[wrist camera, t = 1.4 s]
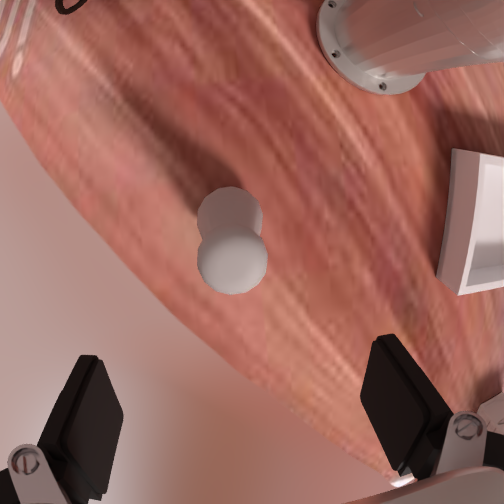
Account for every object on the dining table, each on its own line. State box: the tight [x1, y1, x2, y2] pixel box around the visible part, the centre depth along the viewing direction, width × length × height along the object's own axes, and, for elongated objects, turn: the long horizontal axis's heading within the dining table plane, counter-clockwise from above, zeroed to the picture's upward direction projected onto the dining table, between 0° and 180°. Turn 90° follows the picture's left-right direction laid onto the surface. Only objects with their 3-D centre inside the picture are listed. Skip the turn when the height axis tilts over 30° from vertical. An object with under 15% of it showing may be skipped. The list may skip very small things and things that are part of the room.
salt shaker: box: [197, 186, 268, 295], centre depth 25 cm, size 6×6×13 cm
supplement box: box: [477, 392, 504, 435], centre depth 45 cm, size 7×7×13 cm
